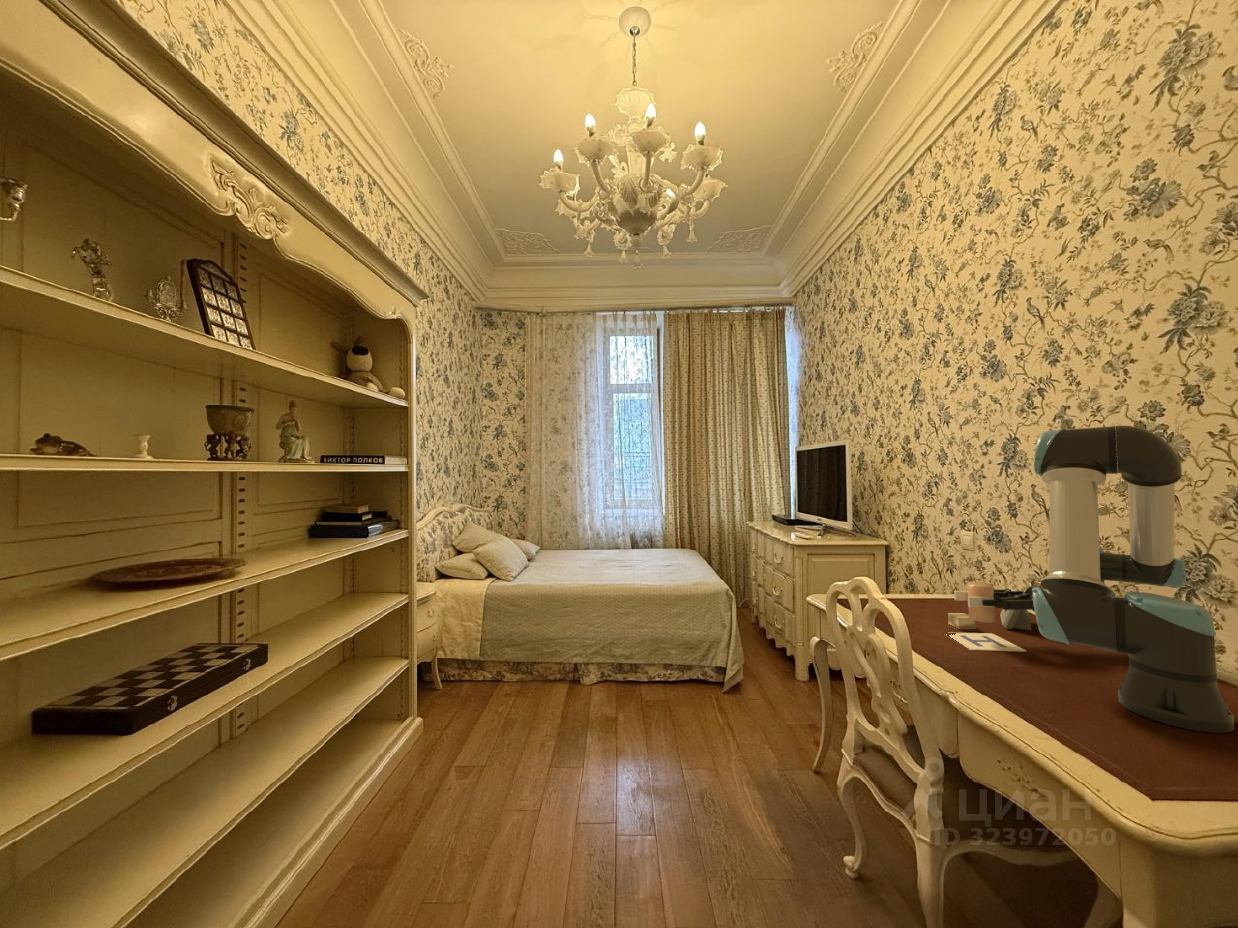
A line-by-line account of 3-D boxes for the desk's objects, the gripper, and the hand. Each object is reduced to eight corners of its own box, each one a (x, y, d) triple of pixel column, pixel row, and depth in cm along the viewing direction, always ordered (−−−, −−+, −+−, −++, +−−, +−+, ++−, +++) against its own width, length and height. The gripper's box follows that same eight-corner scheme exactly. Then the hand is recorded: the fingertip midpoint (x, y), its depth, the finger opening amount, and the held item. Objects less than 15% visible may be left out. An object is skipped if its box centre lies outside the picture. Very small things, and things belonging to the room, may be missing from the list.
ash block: (975, 630, 146) (974, 617, 146) (958, 630, 146) (958, 617, 147) (964, 625, 151) (964, 613, 151) (948, 625, 151) (948, 613, 152)
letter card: (1026, 651, 128) (1026, 650, 128) (971, 650, 130) (971, 649, 130) (992, 634, 142) (992, 633, 142) (942, 633, 144) (942, 632, 144)
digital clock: (1001, 616, 159) (1000, 585, 160) (1036, 622, 153) (1035, 589, 153) (991, 627, 149) (989, 593, 149) (1028, 634, 142) (1027, 599, 142)
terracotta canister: (999, 622, 133) (998, 587, 133) (977, 622, 134) (975, 587, 134) (986, 616, 139) (984, 582, 139) (964, 616, 140) (962, 582, 140)
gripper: (1077, 622, 125) (983, 621, 128) (1025, 603, 144) (944, 602, 147) (1075, 594, 125) (981, 594, 128) (1023, 578, 144) (943, 578, 147)
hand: (961, 598), depth 137 cm, fingers closed on terracotta canister, 6 cm apart
